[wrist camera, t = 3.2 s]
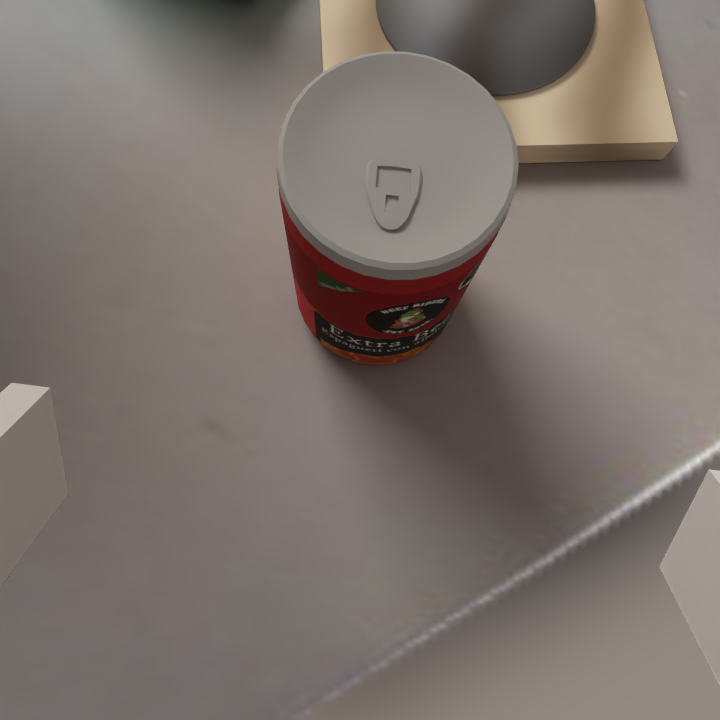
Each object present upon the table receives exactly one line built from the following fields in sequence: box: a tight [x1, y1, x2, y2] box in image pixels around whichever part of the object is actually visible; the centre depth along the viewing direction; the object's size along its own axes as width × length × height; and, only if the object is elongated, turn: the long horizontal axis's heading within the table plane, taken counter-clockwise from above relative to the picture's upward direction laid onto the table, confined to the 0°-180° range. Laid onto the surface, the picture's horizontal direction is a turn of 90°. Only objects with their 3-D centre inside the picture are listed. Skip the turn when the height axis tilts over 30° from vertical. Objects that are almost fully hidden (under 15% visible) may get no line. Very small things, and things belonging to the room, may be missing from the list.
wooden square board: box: [319, 0, 678, 163], centre depth 32 cm, size 18×18×2 cm
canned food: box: [277, 51, 519, 365], centre depth 23 cm, size 8×8×11 cm
